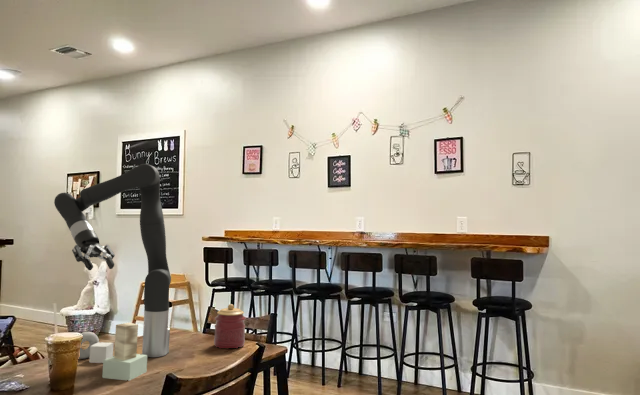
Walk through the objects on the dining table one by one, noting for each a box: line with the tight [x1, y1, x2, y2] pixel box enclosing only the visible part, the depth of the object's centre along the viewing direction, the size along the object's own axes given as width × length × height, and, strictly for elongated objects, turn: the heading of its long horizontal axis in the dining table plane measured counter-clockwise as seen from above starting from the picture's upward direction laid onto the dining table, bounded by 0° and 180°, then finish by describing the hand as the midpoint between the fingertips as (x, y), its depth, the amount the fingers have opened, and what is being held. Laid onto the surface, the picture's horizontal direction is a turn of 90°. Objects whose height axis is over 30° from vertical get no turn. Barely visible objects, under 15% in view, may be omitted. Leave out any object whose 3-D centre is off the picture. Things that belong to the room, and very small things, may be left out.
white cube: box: [88, 341, 115, 364], centre depth 178 cm, size 6×6×6 cm
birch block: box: [113, 322, 139, 360], centre depth 163 cm, size 5×5×11 cm
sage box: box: [101, 353, 148, 381], centre depth 163 cm, size 10×10×6 cm
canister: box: [213, 303, 247, 349], centre depth 206 cm, size 13×13×18 cm
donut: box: [78, 331, 100, 360], centre depth 180 cm, size 10×4×10 cm, turn 138°
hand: (102, 268), depth 174 cm, fingers open, 8 cm apart
